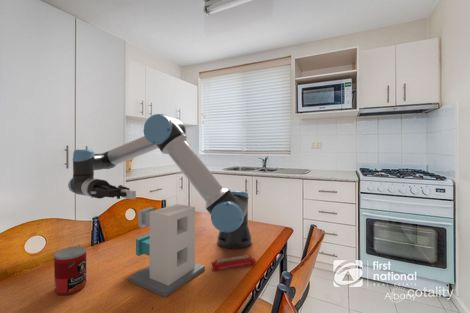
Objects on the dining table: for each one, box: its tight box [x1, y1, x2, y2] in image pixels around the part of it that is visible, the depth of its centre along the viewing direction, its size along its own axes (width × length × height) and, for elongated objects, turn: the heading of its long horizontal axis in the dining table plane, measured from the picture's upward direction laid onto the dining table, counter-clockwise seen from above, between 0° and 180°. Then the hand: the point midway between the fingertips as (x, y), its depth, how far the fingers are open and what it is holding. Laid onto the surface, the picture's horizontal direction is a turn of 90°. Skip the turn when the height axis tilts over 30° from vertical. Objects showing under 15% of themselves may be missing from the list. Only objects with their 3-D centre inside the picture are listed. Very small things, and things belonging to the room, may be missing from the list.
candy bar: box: [211, 254, 257, 271], centre depth 85 cm, size 16×4×3 cm, turn 109°
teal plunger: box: [135, 233, 150, 257], centre depth 81 cm, size 14×6×6 cm, turn 60°
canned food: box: [53, 245, 87, 296], centre depth 70 cm, size 8×8×11 cm
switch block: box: [128, 203, 206, 298], centre depth 78 cm, size 16×18×22 cm
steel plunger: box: [137, 206, 178, 229], centre depth 80 cm, size 14×6×6 cm, turn 60°
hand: (134, 195), depth 86 cm, fingers closed
